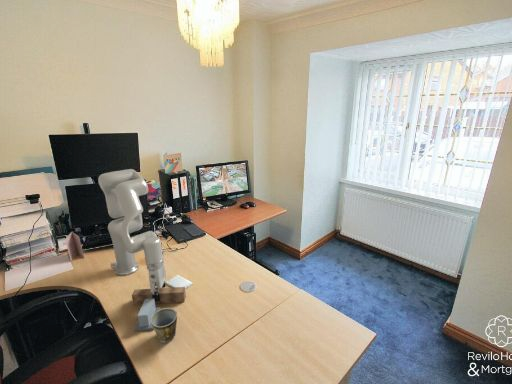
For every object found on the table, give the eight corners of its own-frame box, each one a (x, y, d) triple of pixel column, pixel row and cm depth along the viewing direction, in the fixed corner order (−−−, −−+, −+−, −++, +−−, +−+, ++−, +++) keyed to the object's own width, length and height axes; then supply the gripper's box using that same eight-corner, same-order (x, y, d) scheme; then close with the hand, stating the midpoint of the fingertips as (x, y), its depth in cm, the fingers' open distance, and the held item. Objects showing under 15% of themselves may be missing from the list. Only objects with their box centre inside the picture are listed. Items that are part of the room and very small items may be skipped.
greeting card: (75, 252, 171) (70, 231, 166) (88, 250, 173) (83, 230, 168) (69, 261, 161) (63, 240, 156) (83, 259, 163) (78, 238, 158)
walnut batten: (133, 305, 126) (131, 295, 124) (136, 299, 130) (134, 289, 128) (184, 302, 128) (183, 292, 126) (185, 296, 132) (184, 286, 130)
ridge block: (134, 331, 111) (131, 317, 109) (143, 310, 123) (141, 297, 120) (153, 330, 112) (151, 316, 110) (161, 309, 123) (159, 296, 121)
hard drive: (165, 282, 140) (181, 290, 134) (177, 274, 147) (193, 282, 140) (165, 284, 141) (181, 293, 134) (177, 276, 147) (193, 284, 141)
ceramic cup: (152, 332, 111) (149, 313, 108) (176, 323, 115) (173, 304, 112) (157, 357, 100) (154, 336, 97) (183, 345, 105) (181, 326, 101)
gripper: (158, 273, 114) (162, 306, 119) (167, 252, 130) (171, 282, 136) (140, 274, 113) (145, 307, 119) (152, 253, 130) (156, 283, 135)
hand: (159, 293), depth 127 cm, fingers open, 9 cm apart
